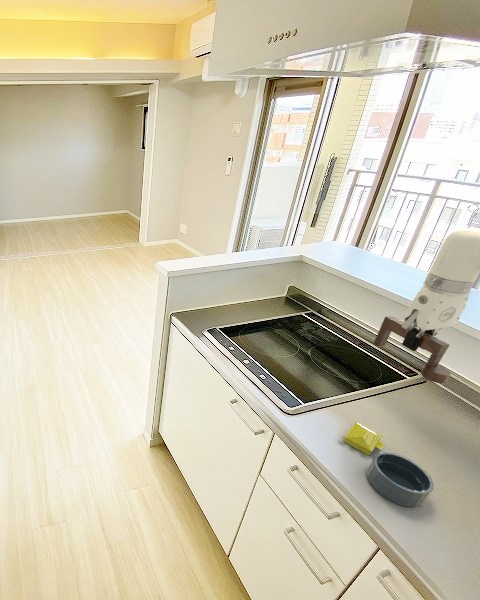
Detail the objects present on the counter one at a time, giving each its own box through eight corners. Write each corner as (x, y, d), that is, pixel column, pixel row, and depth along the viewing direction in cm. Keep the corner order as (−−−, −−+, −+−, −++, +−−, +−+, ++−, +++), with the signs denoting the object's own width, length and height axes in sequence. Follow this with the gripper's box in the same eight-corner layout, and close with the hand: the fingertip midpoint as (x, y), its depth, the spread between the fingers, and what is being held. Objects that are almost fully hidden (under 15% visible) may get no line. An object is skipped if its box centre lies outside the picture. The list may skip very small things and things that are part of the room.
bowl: (391, 463, 77) (400, 449, 75) (435, 504, 68) (447, 489, 66) (354, 469, 76) (362, 455, 74) (394, 511, 67) (405, 497, 65)
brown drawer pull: (451, 382, 80) (470, 352, 75) (435, 384, 79) (453, 354, 75) (383, 341, 95) (395, 315, 90) (369, 343, 94) (381, 316, 90)
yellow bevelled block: (349, 420, 88) (353, 413, 87) (392, 443, 81) (397, 436, 80) (333, 440, 83) (337, 432, 82) (379, 466, 76) (384, 458, 75)
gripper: (436, 293, 72) (401, 360, 81) (497, 286, 74) (457, 352, 82) (401, 279, 79) (372, 342, 87) (458, 273, 80) (425, 335, 89)
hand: (414, 346), depth 85 cm, fingers closed on brown drawer pull, 2 cm apart
